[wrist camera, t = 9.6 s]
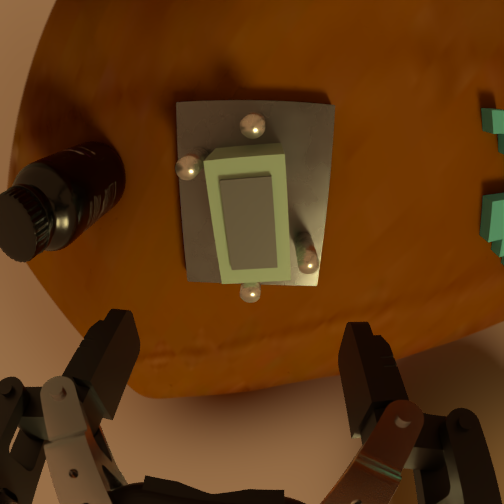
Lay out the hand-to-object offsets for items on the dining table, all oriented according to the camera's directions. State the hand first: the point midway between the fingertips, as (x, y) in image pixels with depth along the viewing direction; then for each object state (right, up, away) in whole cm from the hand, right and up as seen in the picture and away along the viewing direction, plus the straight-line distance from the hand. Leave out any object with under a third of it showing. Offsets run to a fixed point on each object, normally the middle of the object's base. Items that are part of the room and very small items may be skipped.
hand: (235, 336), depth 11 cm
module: (+1, +7, +14) cm, 16 cm away
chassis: (+1, +8, +15) cm, 17 cm away
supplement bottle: (-14, +10, +15) cm, 22 cm away
